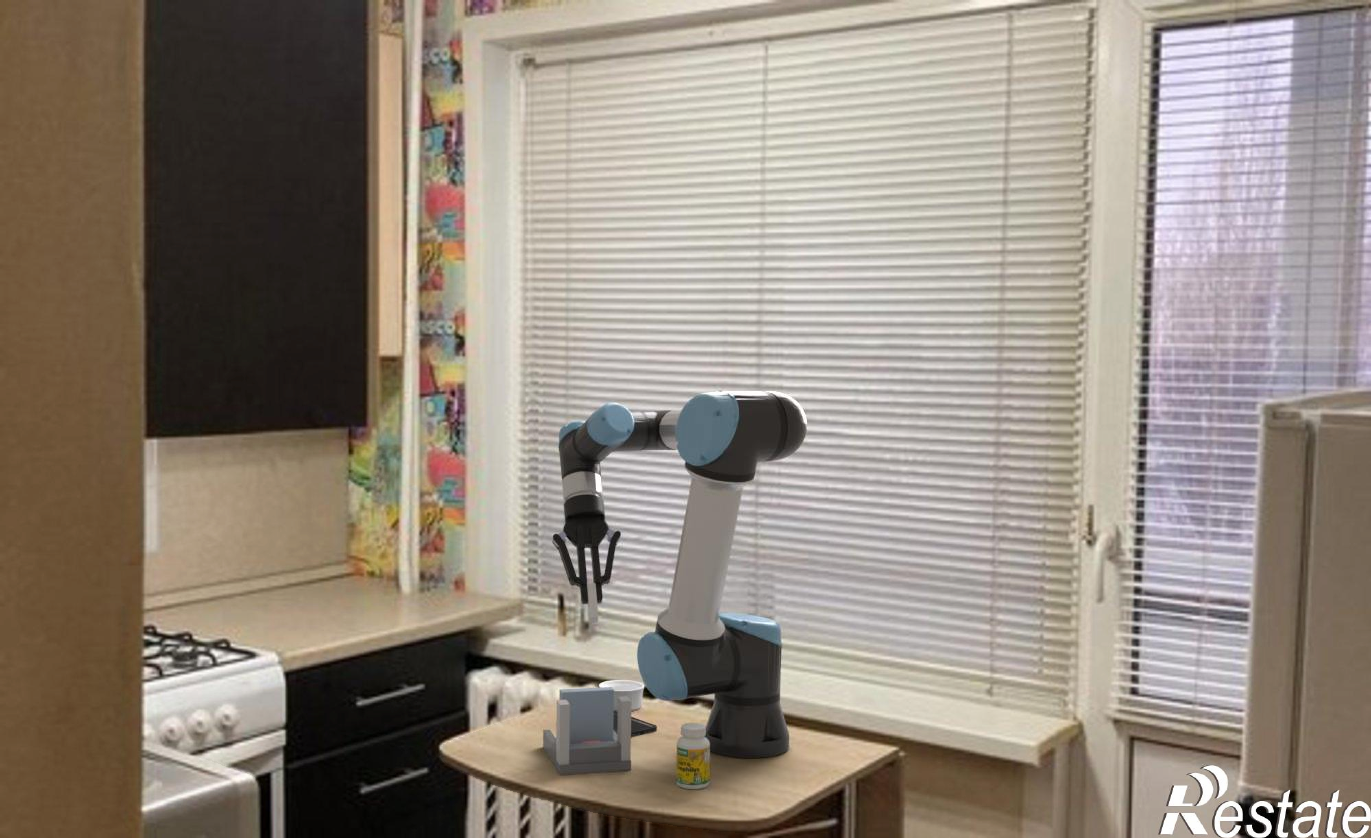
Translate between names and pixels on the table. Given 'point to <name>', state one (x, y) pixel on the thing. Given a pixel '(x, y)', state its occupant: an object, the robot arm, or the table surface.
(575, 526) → the robot arm
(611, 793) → the table surface
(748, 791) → the table surface
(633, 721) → the phone
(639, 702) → the ramekin
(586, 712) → the blue-grey rectangular panel
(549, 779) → the table surface
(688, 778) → the supplement bottle
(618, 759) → the housing
